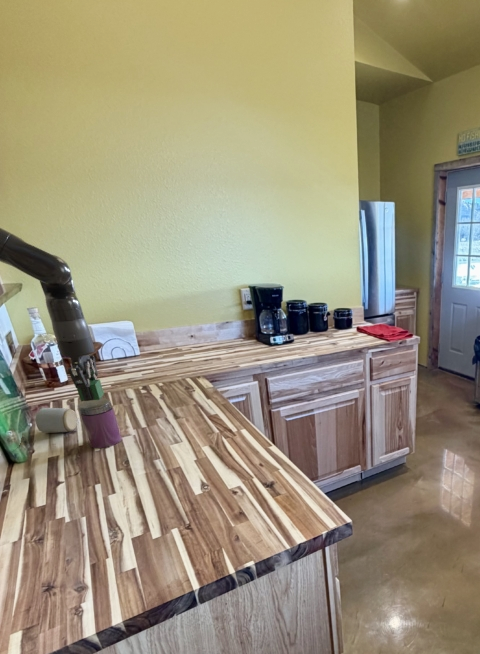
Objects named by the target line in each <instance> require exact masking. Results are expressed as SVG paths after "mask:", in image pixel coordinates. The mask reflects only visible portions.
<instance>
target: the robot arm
mask: <svg viewBox="0 0 480 654" xmlns="http://www.w3.org/2000/svg"><path fill="white" fill-rule="evenodd" d="M0 263H3V264H6V265H8V266H11V267H13V268H15V269H17V270H18V271H20V272H22V273H24V274H25V275H27V276H29V277H31V278H33V279H36V280H38V281H39V284H40V286H41V289H42V292H43V295H44V297H45V305H46V310H47V312H48V315H49V318H50V321H51V326H52V331H53V334H54V337H55V340H56V343H57V344H56V345H57V346H58V350H59V352H60V355H61V356H62V357H64V358H69V359H70V367H68V368H67V372H68V374H69V376H70V378H71V381H72V382H73V385H74V387H75V388H76V389H77V388H81V391H82V394H83V397H84V400H85V401H84V402H86V401H90V400H93V399H94V396H93V393H92V389H91V387H90V381H89V380H97V379H98V378H97V377H98V376H99V374H98V373H99V372H98V368H97V364H96V357H95V355H93V354H94V353H95V352H96V349H95V345H94V343H93V340H92V339H93V338H92V336H91V332H90V328H89V325H88V322H87V320H86V319H85V315H84V312H83V309H82V306H81V303H80V300H79V297H78V296H77V293H76V289H75V285H74V280H73V276H72V271H71V268H70V265H69V264H68V263H67V261H65V260H64V259H63V258H62V257H61V256H58V255H56V254H51V253H49V252H47V251H45V250H43V249H41V248H39V247H37V246H35V245H33V244H30V243H29V242H26V241H25V240H24V239H22V238H21V237H19V236H17V235H15V234H14V233H11V232H9V231H8V230H6V229H4V228H1V227H0ZM81 381H82V382H83V383H81Z"/></svg>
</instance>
